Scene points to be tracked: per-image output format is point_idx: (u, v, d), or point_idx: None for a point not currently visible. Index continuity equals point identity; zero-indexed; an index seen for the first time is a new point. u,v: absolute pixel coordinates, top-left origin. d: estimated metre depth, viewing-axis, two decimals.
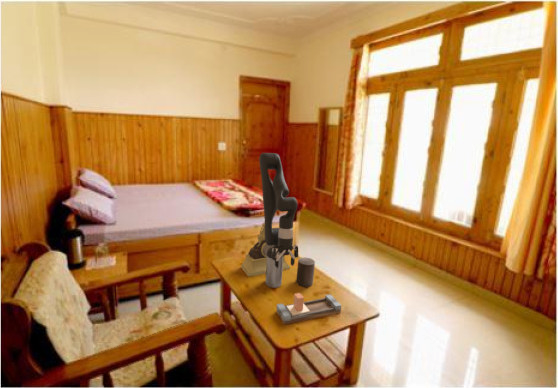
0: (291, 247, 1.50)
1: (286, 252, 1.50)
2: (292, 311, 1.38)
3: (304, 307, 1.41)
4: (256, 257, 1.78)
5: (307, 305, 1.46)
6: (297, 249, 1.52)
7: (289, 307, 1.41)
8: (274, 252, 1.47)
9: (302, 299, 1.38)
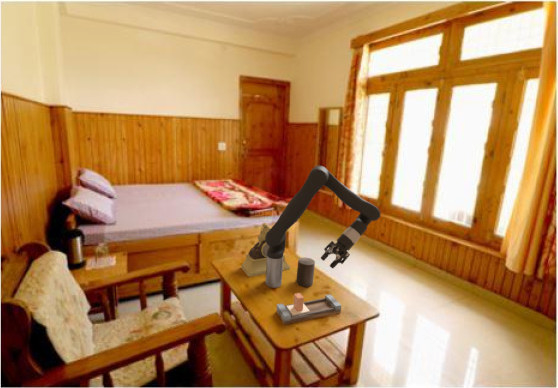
0: None
1: None
2: (292, 311, 1.38)
3: (304, 307, 1.41)
4: (256, 257, 1.78)
5: (307, 305, 1.46)
6: (332, 246, 1.48)
7: (289, 307, 1.41)
8: None
9: (302, 299, 1.38)
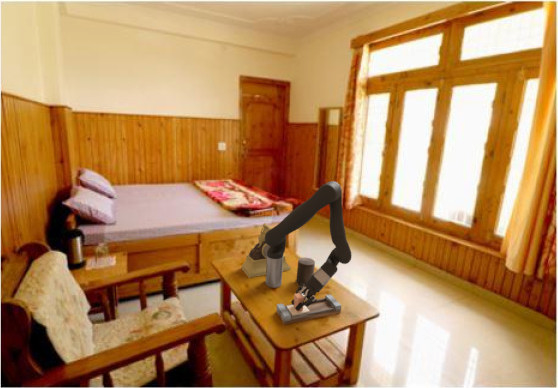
0: None
1: None
2: (292, 311, 1.38)
3: (304, 307, 1.41)
4: (257, 258, 1.77)
5: None
6: (302, 288, 1.46)
7: (289, 307, 1.41)
8: None
9: None
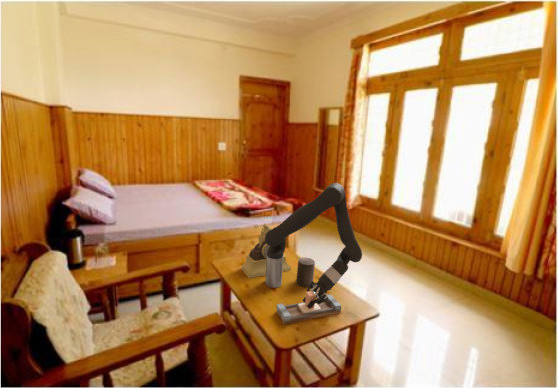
0: None
1: None
2: (304, 309, 1.40)
3: (315, 305, 1.44)
4: (257, 258, 1.76)
5: None
6: (313, 286, 1.48)
7: (301, 305, 1.43)
8: None
9: None
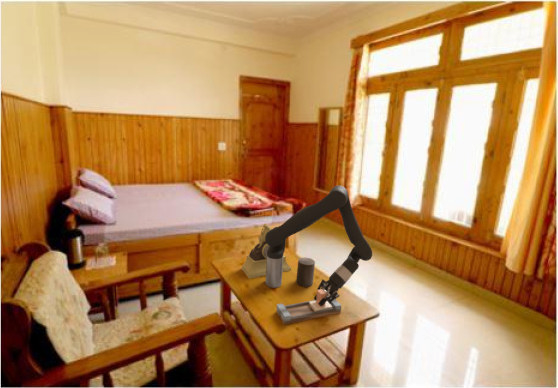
0: None
1: None
2: (315, 306, 1.42)
3: (326, 303, 1.46)
4: (257, 258, 1.76)
5: (307, 305, 1.46)
6: (324, 284, 1.51)
7: (312, 303, 1.45)
8: None
9: None
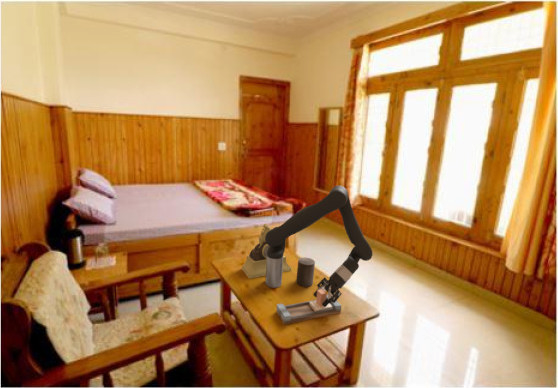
0: None
1: None
2: (315, 306, 1.42)
3: None
4: (257, 259, 1.76)
5: (307, 305, 1.46)
6: None
7: (312, 303, 1.45)
8: None
9: (325, 295, 1.42)
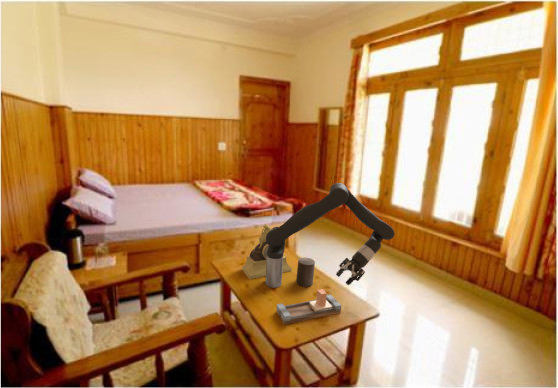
0: None
1: None
2: (315, 306, 1.42)
3: (326, 302, 1.46)
4: (257, 259, 1.75)
5: (307, 305, 1.46)
6: None
7: (312, 303, 1.45)
8: None
9: (325, 295, 1.42)
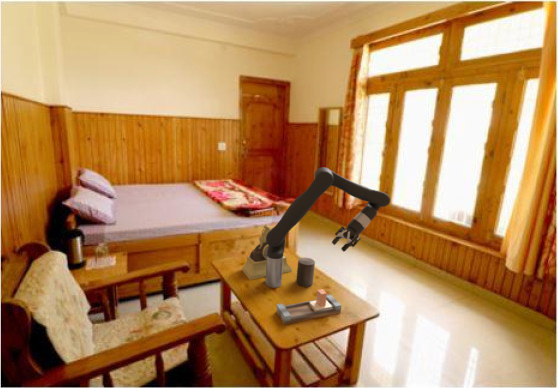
0: None
1: None
2: (315, 306, 1.42)
3: (326, 302, 1.46)
4: (257, 260, 1.75)
5: (307, 305, 1.46)
6: (343, 231, 1.53)
7: (312, 303, 1.45)
8: None
9: (325, 295, 1.42)
